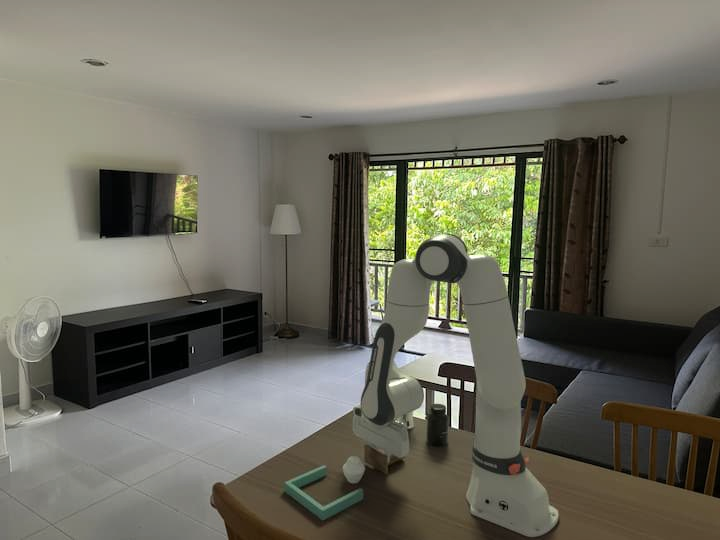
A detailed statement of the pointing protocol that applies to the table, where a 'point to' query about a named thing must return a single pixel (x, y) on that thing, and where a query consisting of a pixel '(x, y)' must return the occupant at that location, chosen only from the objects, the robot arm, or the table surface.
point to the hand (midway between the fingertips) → (380, 459)
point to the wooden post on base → (378, 459)
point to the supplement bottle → (437, 425)
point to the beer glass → (407, 420)
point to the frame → (312, 505)
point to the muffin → (353, 469)
